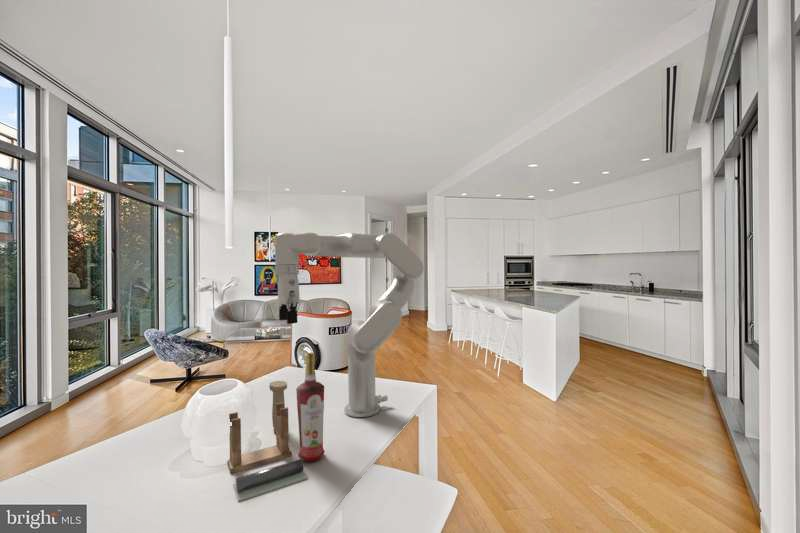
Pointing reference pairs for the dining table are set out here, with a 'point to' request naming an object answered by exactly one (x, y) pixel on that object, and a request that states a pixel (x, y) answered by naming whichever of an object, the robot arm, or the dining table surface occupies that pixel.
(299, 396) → the liquor
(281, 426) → the hook stand
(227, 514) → the dining table surface
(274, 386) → the handle
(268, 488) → the mat
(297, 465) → the rail
